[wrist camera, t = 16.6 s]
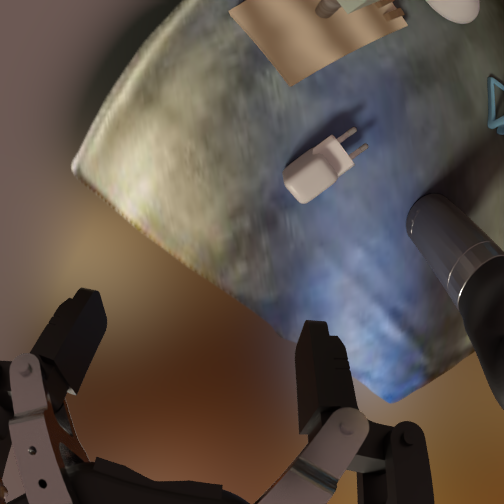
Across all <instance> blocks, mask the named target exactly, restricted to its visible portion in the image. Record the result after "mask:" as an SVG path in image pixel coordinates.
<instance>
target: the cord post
mask: <svg viewBox="0 0 504 504" xmlns="http://www.w3.org/2000/svg"><path fill="white" fill-rule="evenodd" d="M393 1H395V0H380V1H378V2H375V3H373V4H370V5H368V6H365V7H363V8H361V9H358V10H356V11H354V12H352V13H349V14H347V13H346V11H345V10H344V9H343V7H342V6H341V5H340V4H339V2H338V1H337V0H246V1H244V2H243V3H241V4H239V5H238V6H236V7H235V8H233V9H231V10H230V11H228V12H229V13H230V15H231V17H232V18H233V19H234V20H235V21H236V22H237V23H238V24H239V25H240V26H241V28H242V29H243V30H244V31H245V32H246V33H247V34H248V36H249V37H250V38H251V39H252V40H253V41H254V42H255V44H256V45H257V46H258V47H259V48H260V50H261V51H262V52H263V53H264V54H265V56H266V57H267V58H268V59H269V61H270V62H271V63H272V64H273V66H274V67H275V68H276V69H277V71H278V72H279V73H280V75H281V76H282V77H283V78H284V80H285V81H286V82H287V84H288V85H289V86H293V85H294V84H296V83H298V82H299V81H301V80H303V79H304V78H306V77H308V76H309V75H311V74H313V73H314V72H316V71H318V70H320V69H321V68H323V67H325V66H327V65H328V64H330V63H332V62H334V61H336V60H337V59H339V58H341V57H343V56H345V55H347V54H349V53H351V52H353V51H355V50H356V49H358V48H360V47H362V46H364V45H366V44H368V43H371V42H373V41H375V40H377V39H379V38H381V37H383V36H385V35H388V34H390V33H392V32H394V31H396V30H399V29H401V28H403V27H406V26H408V25H407V23H406V22H405V20H404V19H403V17H402V16H403V15H405V14H404V12H403V11H402V10H401V8H396V7H395V6H394V4H393V3H392V2H393Z"/></svg>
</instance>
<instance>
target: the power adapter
mask: <svg viewBox="0 0 504 504" xmlns="http://www.w3.org/2000/svg"><path fill="white" fill-rule="evenodd" d="M356 131H357V128H356V127H352V128H351V129H349V130H348V131H347V132H346V133H344V134H343V135H342V136H340V137H338V138H337V139H336V138H335V137H334V136H333V135H330V136H329V137H328V138H326V139H325V140H324V141H322V142H321V143H320V144H318V145H317V146H316V147H313V148H311V149H309V150H308V151H306V152H305V153H304V154H302V155H301V156H300V157H298V158H297V159H296V160H295V161H293V162H292V163H291V164H290V165H288V166H287V167H286V168H285V169H284V170H283V172H282V174H283V179H284V184H285V186H286V187H287V189H288V190H289V191H290V192H291V194H292V195H293V196H294V197H295V198H296V199H297V200H298V201H299V202H300V203H303V204H304V203H307V202H309V201H310V200H312V199H313V198H315V197H316V196H317V195H319V194H320V193H322V192H323V191H324V190H326V189H327V188H328V187H330V186H331V185H332V184H333V183H335V182H336V180H337V179H338V177H339V176H341V175H342V174H343V173H345V172H346V171H347V170H349V169H350V168H352V167H353V166H354V165H355V164H354V163H353V161H352V159H354V158H355V157H356V156H357V155H359V154H360V153H362V152H363V151H365V150H366V149H367V148H368V144H366V143H365V144H363V145H362V146H360V147H359V148H358V149H357V150H355V151H354V152H353V153H351V154H349V155H348V154H347V153H346V151H345V150H344V149H343V147H342V146H341V145H340V143H342V142H343V141H344V140H345V139H346V138H348V137H349V136H351V135H352V134H354V133H355V132H356Z"/></svg>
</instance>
